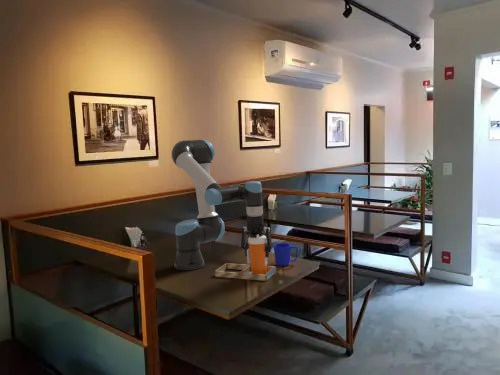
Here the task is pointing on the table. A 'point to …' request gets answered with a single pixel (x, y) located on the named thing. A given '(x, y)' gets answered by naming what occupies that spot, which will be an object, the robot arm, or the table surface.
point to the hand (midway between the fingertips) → (257, 263)
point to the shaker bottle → (257, 254)
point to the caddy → (243, 272)
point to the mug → (283, 254)
